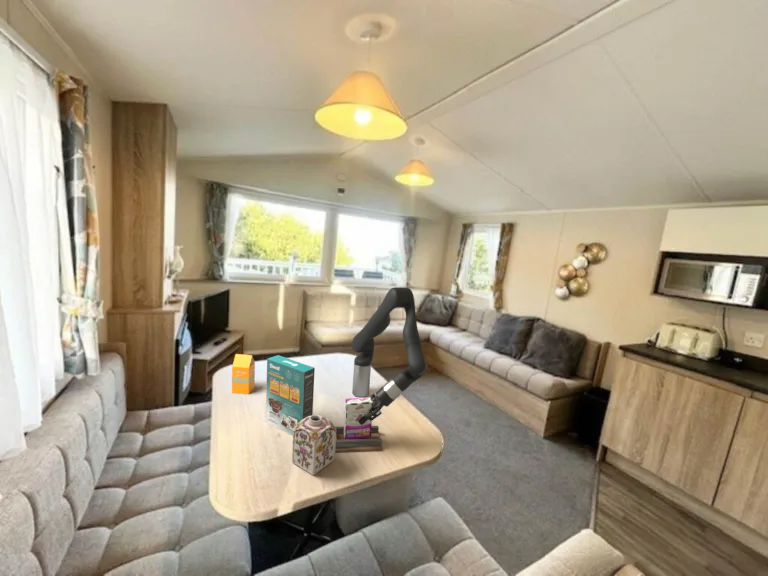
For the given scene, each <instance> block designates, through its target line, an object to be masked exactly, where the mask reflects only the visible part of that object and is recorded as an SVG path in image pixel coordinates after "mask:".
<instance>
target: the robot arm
mask: <svg viewBox="0 0 768 576" xmlns="http://www.w3.org/2000/svg"><path fill="white" fill-rule="evenodd" d="M415 306H416V305H415V296H414V293H413V291H412V290H411V289H410V288H409V287H398V286H396V287H395V286H394V287H392V288H390V289H389V290H388V292H387V293H386V294H385V297H384V298H383V300H382V302H381V303H380V305H379V306H378V307H377V309H376V311H375V312H374V313H373V314H372V315H371V317H370V318H369V320H368V321H367V323H366V324H365V325H364V326H363V327H362V329H360V331H359V332H358V333H357V334H356V335H354V337H353V339H352V342H351V348H352V350H353V352H355V353H358V355H357V356H356V357H355V358H354V360H353V362H354V363H353V377H352V379H353V380H352V388H351V389H352V390H351V391H352V392H351V393H352V395H353V396H355V397H356V398H364V397H369V394H370V384H371V371H372V368H371V367H372V361H373V359H374V358H373V357H374V350H375V338H376V337H378V336H380V335H381V334H382V333H384V332H385V331H386V329H387V328H388V327H389V325H390V324H391V313H392V311H393V310H395V309H403V310H404V311H405V322H404V325H403V328H402V339H403V343H404V346H405V350H406V356H407V362H408V366H407V367H406V368H405V369H403V370H401V371H400V372H397V374H395V375H394V376H393V377H392V378H391V379H390V380H387V382H386V383H384V384H383V385H382V386H381V387H380V388H379V389H378V390H377V391H376V392H375V394H374V393H373V394H372V395H371V396H370V397H371V400H372V402H373V405H372V407H370V408H369V409H368V412H367V413H366V415H364V416H363V417H362V418H361V419H360V420H359V423H360V424H361V425H363V424H364V423H365V422H366V421H367V420H370V421H372V422H373V421H374V420H375V419H377V418H378V417H380V416H381V415H382V411H381V410H382V408H383V407H384V406H385V407H386V408H387V407H389V406H390V405H391V404H392V403H394V401H396V399H398V398H399V397H400V396H401V395H402V393H403V392H404V391H406V390H407V389H408V388H409V387H410V386H411V385H412V384H413V383H416V381H418V380H419V379H420V378H422V377H423V376H424V375H425V374H426V373H427V371H428V369H429V364H428V362H427V361H426V360H425V356H424V352H423V350H422V349H423V345H422V341H421V337H420V333H419V329H418V324H417V323H418V321H417V314H416V313H417V312H416V307H415ZM359 353H360V354H359ZM371 409H372V411H371ZM369 413H370V414H369Z"/></svg>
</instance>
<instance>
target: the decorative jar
mask: <svg viewBox="0 0 768 576" xmlns="http://www.w3.org/2000/svg"><path fill="white" fill-rule="evenodd" d="M335 427H336V425H334V424H333V422H332V420H331V419H329V418H327V417H326V416H323V415H319V414H313V415H312V416H308V417H306V418H304V419H303V420H301V421H300V423H299V424H298V425H297V426H296V428H295V429H294V431H293V436H292V452H291V454H292V455H291V456H292V457H291V458H292V459H291V463H293V464H295V465H296V466H297V467H298V468H301V470H304V471H305V472H307V473H308V474H310V475H312V476H316V474H318V473H319V472H320V471H322V470H324V468H326V467H327V466H328V465H330V464H331V463H332V462H334V461H335V460H336V459H335V458H336V452H335V448H336V428H335Z"/></svg>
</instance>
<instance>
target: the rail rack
mask: <svg viewBox="0 0 768 576" xmlns="http://www.w3.org/2000/svg"><path fill="white" fill-rule="evenodd" d="M379 427H380V426H379V425H372V427H371V438H367V439H348V440H345V438H344V425H343V426H340V425H339V426H335V428H336V448H335V453H353V452H354V453H355V452H356V453H357V452H379V451H380V452H382V451H383V447H382V443H383V439H382V438H381V437H380V435H379Z"/></svg>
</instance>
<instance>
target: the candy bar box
mask: <svg viewBox="0 0 768 576" xmlns="http://www.w3.org/2000/svg"><path fill="white" fill-rule="evenodd" d="M372 405H373V402H372V400H371V396H365V397H354V398H353V397H351V398H345V399H344V417H343V419H344V422H343V426H344V438H345V440H348V439H367V438H371V427H372V426H373V425H372V422H373V420H372V421H370V420H367V421H366V422H365V423H364V424H363V425H361V424H360V423H359V420H360V419H361V418H362V417H363V416H364V415H366V413H367V412H368V409H369V408H370V407H372ZM371 411H372V409H371ZM372 412H373V411H372ZM369 414H370V413H369Z"/></svg>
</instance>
